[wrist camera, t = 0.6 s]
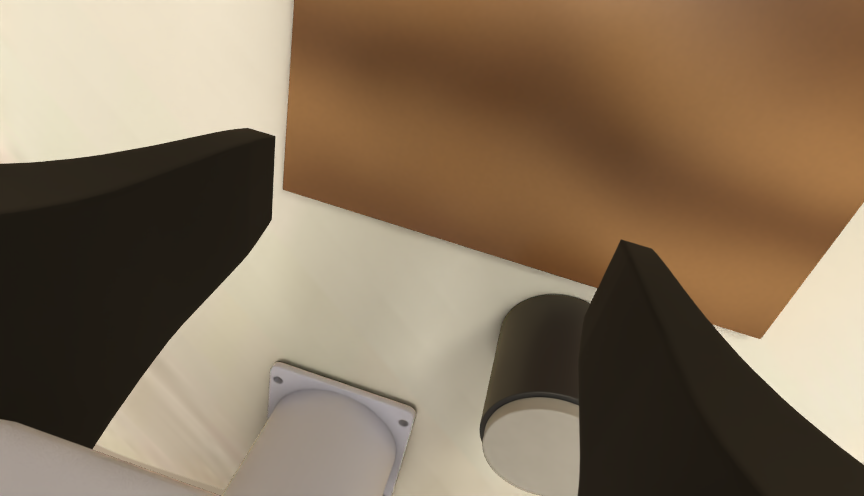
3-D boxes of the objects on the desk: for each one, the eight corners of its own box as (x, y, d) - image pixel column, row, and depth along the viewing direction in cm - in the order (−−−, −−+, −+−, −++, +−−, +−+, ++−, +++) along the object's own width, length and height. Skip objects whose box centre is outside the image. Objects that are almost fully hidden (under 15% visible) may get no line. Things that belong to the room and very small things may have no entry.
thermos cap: (591, 395, 26) (590, 518, 21) (487, 361, 27) (462, 473, 21) (636, 316, 23) (647, 436, 18) (518, 279, 24) (497, 386, 19)
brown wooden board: (758, 333, 22) (760, 339, 22) (286, 185, 24) (282, 189, 24) (990, 21, 16) (999, 23, 15) (308, -155, 17) (302, -157, 17)
